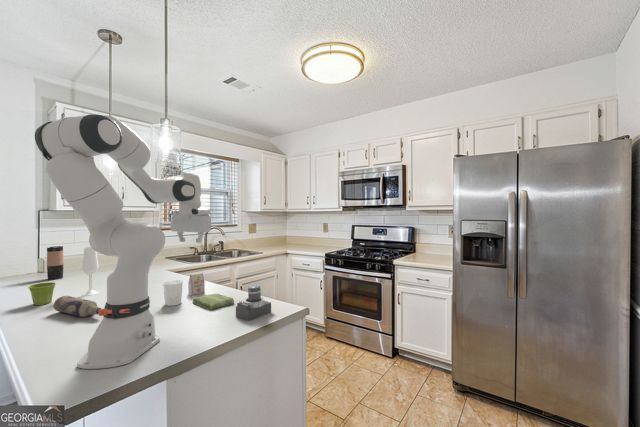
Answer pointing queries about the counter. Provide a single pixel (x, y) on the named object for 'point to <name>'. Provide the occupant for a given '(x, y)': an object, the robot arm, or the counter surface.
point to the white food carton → (196, 284)
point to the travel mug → (55, 262)
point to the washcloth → (213, 301)
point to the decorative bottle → (76, 306)
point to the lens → (254, 294)
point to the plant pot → (42, 293)
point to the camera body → (252, 309)
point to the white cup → (172, 292)
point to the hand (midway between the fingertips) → (190, 242)
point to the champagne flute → (90, 267)
